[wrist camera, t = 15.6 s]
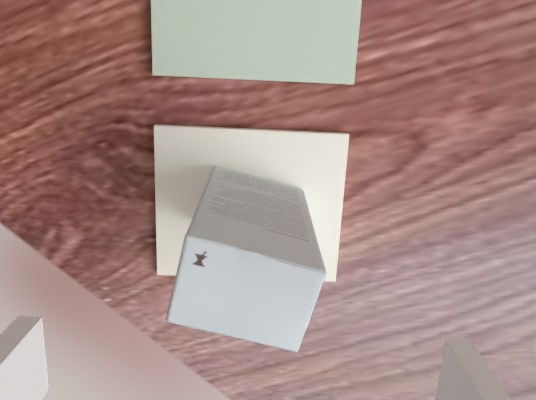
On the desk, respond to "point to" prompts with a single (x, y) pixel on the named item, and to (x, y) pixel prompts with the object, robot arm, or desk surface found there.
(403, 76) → the desk surface
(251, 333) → the skincare box
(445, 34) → the desk surface
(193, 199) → the taller pad
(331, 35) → the shorter pad
